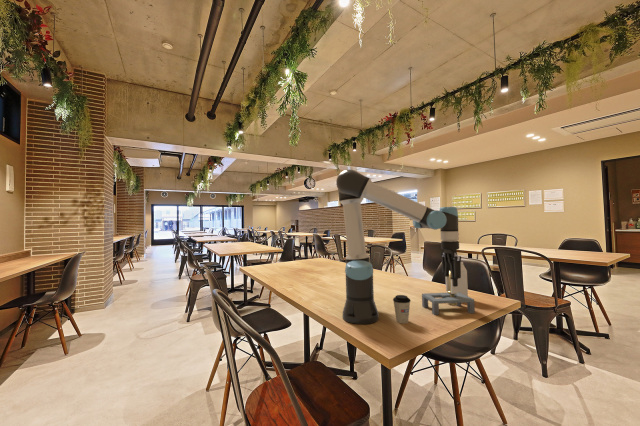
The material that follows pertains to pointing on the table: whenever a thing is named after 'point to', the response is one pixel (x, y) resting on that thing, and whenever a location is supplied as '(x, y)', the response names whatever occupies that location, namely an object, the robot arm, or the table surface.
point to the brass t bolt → (450, 290)
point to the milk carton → (463, 281)
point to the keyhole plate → (446, 301)
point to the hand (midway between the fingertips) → (451, 291)
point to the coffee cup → (401, 308)
